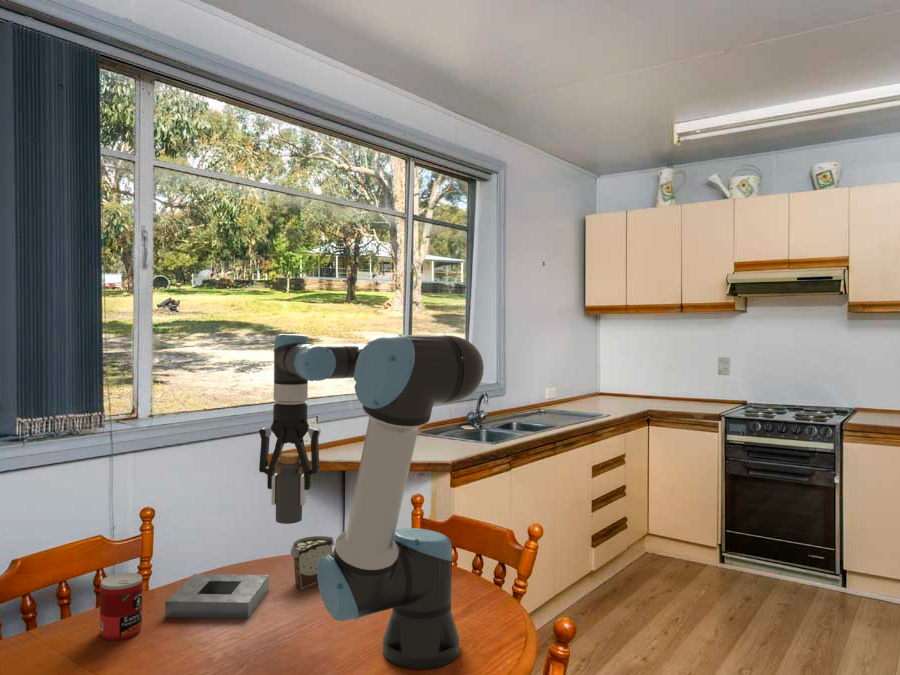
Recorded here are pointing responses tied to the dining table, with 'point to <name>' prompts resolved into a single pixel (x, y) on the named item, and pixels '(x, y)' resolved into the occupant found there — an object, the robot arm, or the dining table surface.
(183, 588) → the plate
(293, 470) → the bottle
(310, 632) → the dining table surface
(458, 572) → the dining table surface
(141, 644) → the dining table surface
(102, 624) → the canned food
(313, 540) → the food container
